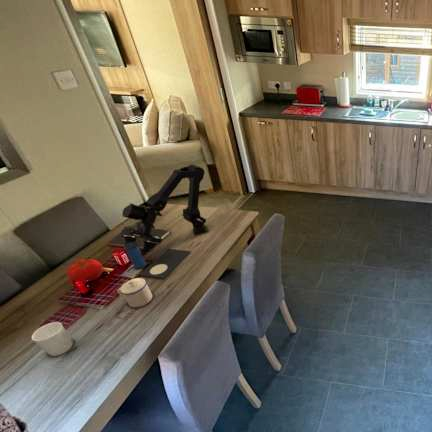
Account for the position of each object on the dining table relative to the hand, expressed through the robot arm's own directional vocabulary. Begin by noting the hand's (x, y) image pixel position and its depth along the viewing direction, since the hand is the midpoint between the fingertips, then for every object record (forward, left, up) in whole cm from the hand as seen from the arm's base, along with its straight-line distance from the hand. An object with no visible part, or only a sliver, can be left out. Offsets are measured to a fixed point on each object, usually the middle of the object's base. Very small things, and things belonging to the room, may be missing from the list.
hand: (134, 253), depth 149 cm
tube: (0, 0, -8) cm, 8 cm away
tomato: (-2, -19, -8) cm, 21 cm away
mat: (+5, +10, -8) cm, 14 cm away
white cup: (+37, -26, -8) cm, 46 cm away
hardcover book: (-24, +2, -8) cm, 26 cm away
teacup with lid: (+25, -2, -8) cm, 26 cm away
